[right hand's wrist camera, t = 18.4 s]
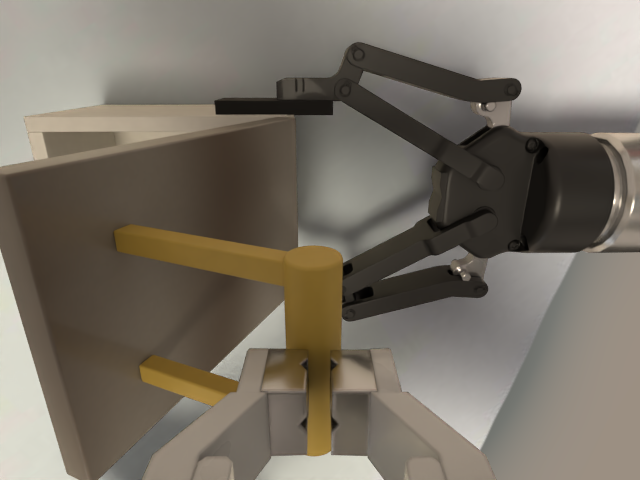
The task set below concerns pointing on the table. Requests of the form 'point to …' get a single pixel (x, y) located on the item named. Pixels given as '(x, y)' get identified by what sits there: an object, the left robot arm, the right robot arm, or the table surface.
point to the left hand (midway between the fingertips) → (227, 194)
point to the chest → (121, 126)
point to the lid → (162, 278)
